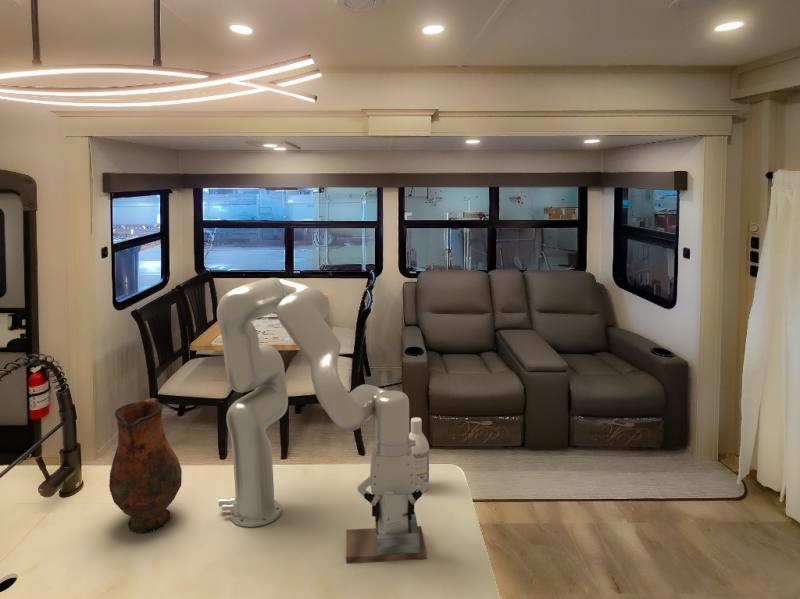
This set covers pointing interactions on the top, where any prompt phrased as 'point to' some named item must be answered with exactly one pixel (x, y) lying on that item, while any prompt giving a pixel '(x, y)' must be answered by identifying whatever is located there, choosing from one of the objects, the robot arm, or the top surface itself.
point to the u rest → (385, 544)
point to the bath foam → (420, 451)
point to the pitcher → (144, 467)
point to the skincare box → (392, 514)
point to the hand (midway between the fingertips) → (393, 517)
